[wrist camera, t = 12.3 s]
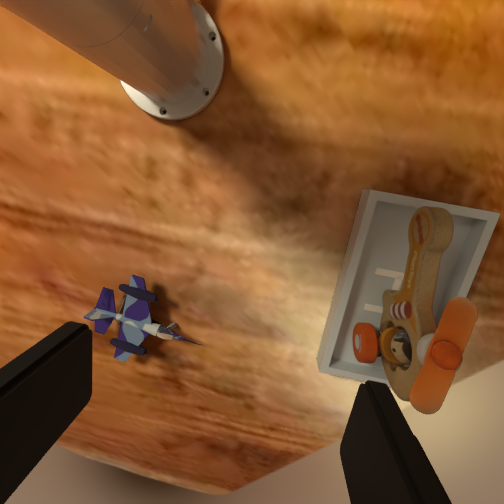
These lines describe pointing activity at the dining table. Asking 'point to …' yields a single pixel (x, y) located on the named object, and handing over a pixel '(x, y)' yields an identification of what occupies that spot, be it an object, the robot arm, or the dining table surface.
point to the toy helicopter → (419, 321)
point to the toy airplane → (130, 318)
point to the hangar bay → (393, 273)
